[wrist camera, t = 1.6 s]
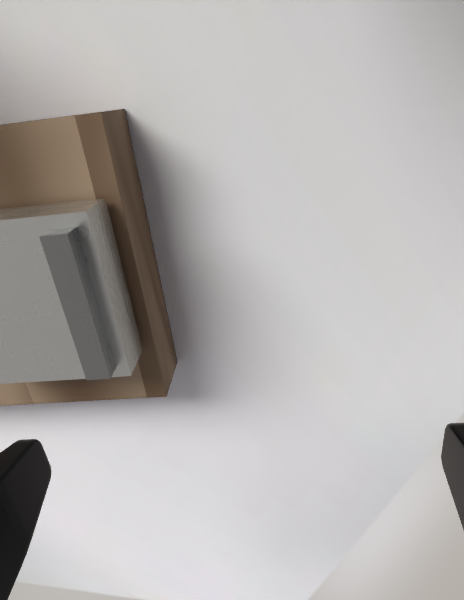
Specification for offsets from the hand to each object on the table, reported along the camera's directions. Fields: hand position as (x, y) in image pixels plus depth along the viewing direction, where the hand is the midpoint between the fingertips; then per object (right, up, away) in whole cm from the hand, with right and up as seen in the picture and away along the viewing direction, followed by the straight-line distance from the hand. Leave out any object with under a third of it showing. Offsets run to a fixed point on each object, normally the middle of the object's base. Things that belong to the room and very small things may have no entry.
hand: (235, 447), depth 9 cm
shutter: (-8, +4, +10) cm, 13 cm away
